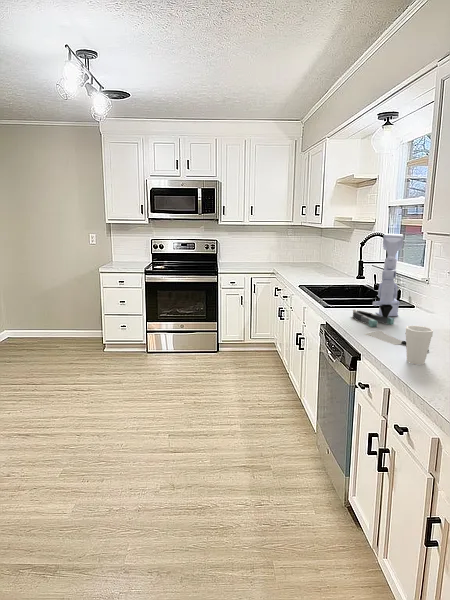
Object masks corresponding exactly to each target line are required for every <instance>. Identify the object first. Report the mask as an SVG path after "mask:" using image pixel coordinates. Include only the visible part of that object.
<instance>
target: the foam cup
mask: <svg viewBox="0 0 450 600" xmlns="http://www.w3.org/2000/svg"><path fill="white" fill-rule="evenodd" d="M405 327H406V328H405V341H406V346H405V347H406V348H405V349H406V362H407V361H408V362H407V363H409V362H410V363H409V364H411V363H413V364H412V365H417V364H422V365H425V362H426V359H427V355H428V353H429V352H428V349H429V348H430V344H431V341H432V338H433V332H434V330H433V328H430V327H427V326H423V325H407V326H405ZM429 350H430V349H429Z"/></svg>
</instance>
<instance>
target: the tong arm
mask: <svg viewBox="0 0 450 600" xmlns="http://www.w3.org/2000/svg"><path fill="white" fill-rule="evenodd" d="M354 312H358V313H361V314H363V315H364V316H367V317H369V318H371V319H374V320H376V321H377V323H381V324H384V325H385V324H386V325H389V326H393V325H394V324H395V323H394V322H395V318H394V317H392V316H388V317H384V316H381V315H378V314H376V313H375V314H374V313H371V312H369V311H368V312H367V311H363V310H359V309H353V310H352V317H354Z"/></svg>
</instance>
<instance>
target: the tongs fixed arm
mask: <svg viewBox="0 0 450 600" xmlns="http://www.w3.org/2000/svg"><path fill="white" fill-rule="evenodd" d="M352 317H353V316H352ZM353 319H354V320H357V321H359V322H361V321H362V322H361V323H363V322H364V324H366V325H368V327H371V328H377V327H378V322H377V321H376V320H374V319H371V318H369V317H367V316H364V315H363V314H361V313H358V312H354V317H353Z"/></svg>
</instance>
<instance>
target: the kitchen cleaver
mask: <svg viewBox="0 0 450 600" xmlns="http://www.w3.org/2000/svg"><path fill="white" fill-rule="evenodd" d="M365 335H366V336H368V337H371V338H375V339H377V340H381V341H383V342H386V343H389V344H391V345H394V346H398V345H401V346H405V347H406V340H401V339H398V338H396V337H393V336H391V335H389V334H387V333H385V332H384V331H382V330H375V331H372V332H371V331H370V332H367V333H365ZM429 351H430V349H428V352H427V353H429Z"/></svg>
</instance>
